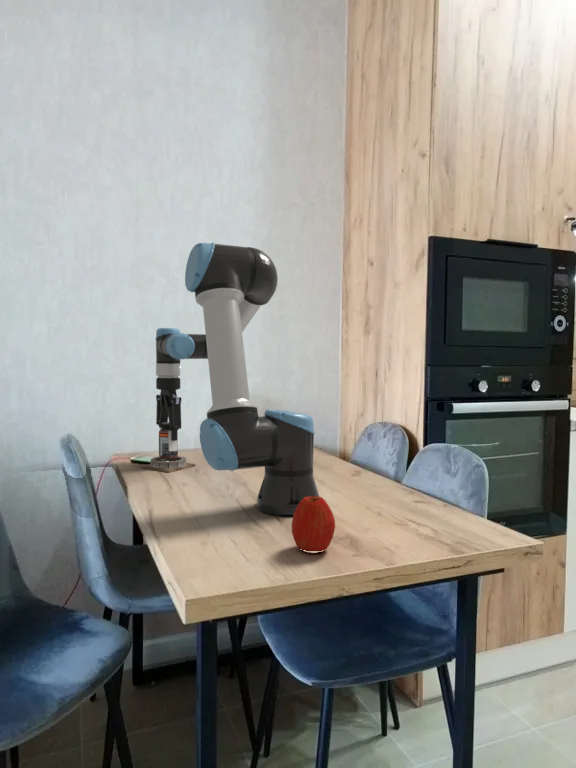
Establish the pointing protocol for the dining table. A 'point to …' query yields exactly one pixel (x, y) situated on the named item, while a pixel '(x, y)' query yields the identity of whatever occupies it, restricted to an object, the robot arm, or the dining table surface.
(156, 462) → the socket
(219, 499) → the dining table surface
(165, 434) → the supplement bottle
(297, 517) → the apple
